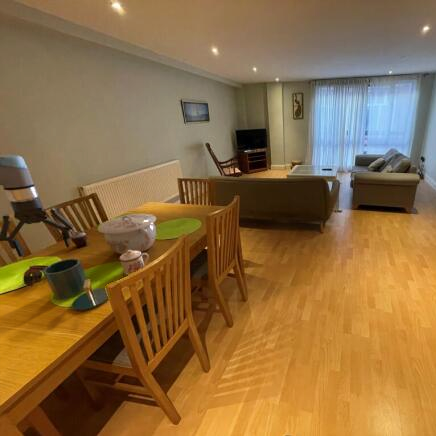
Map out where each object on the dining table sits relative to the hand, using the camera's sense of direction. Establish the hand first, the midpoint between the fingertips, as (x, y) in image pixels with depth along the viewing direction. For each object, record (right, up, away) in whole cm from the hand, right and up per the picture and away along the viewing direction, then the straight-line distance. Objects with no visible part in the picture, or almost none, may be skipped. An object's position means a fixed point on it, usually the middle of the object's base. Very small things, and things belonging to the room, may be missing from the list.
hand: (46, 250), depth 95 cm
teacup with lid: (+21, -13, +24) cm, 35 cm away
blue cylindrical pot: (+1, -19, +10) cm, 21 cm away
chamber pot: (+7, -5, +44) cm, 45 cm away
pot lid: (+15, -21, +4) cm, 26 cm away
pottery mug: (-20, -16, +17) cm, 31 cm away
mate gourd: (-28, -4, +48) cm, 55 cm away
